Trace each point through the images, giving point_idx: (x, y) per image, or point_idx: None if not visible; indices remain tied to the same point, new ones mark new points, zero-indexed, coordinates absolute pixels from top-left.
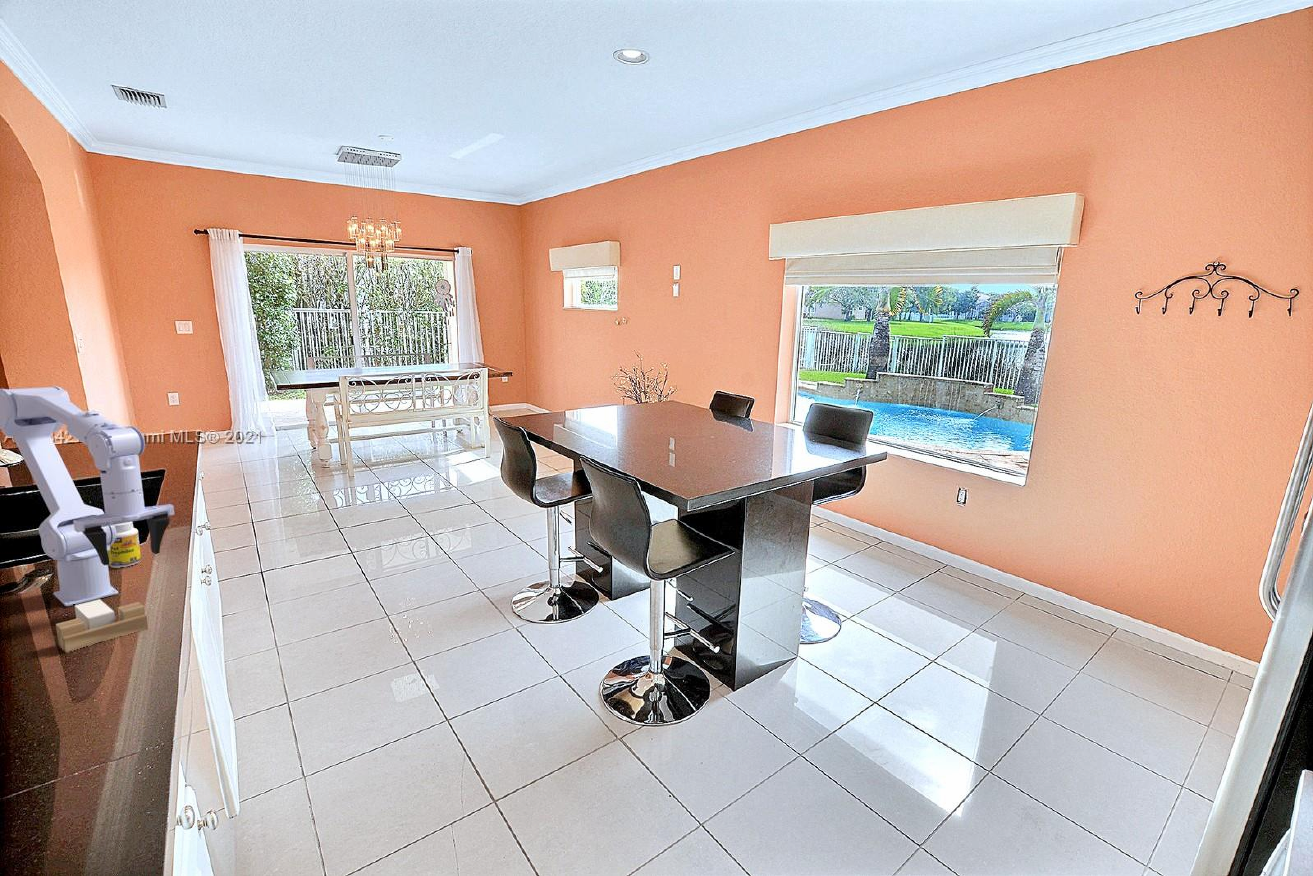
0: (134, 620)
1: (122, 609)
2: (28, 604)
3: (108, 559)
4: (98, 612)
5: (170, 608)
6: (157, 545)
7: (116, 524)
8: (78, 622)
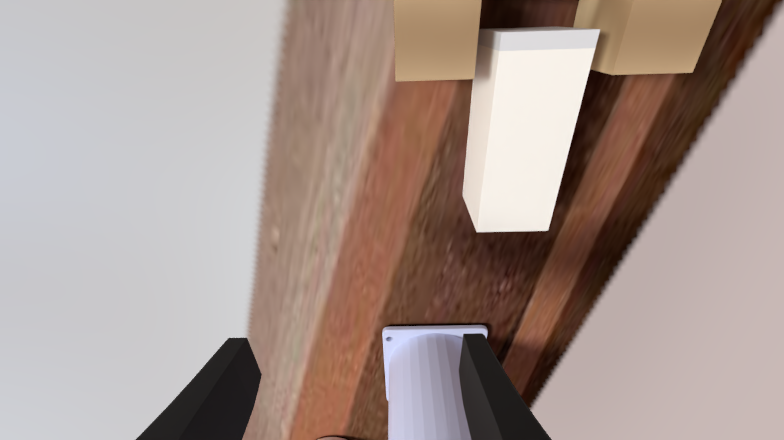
0: None
1: (471, 31)
2: (521, 380)
3: (474, 357)
4: (540, 84)
5: (295, 124)
6: (204, 382)
7: None
8: (647, 9)
